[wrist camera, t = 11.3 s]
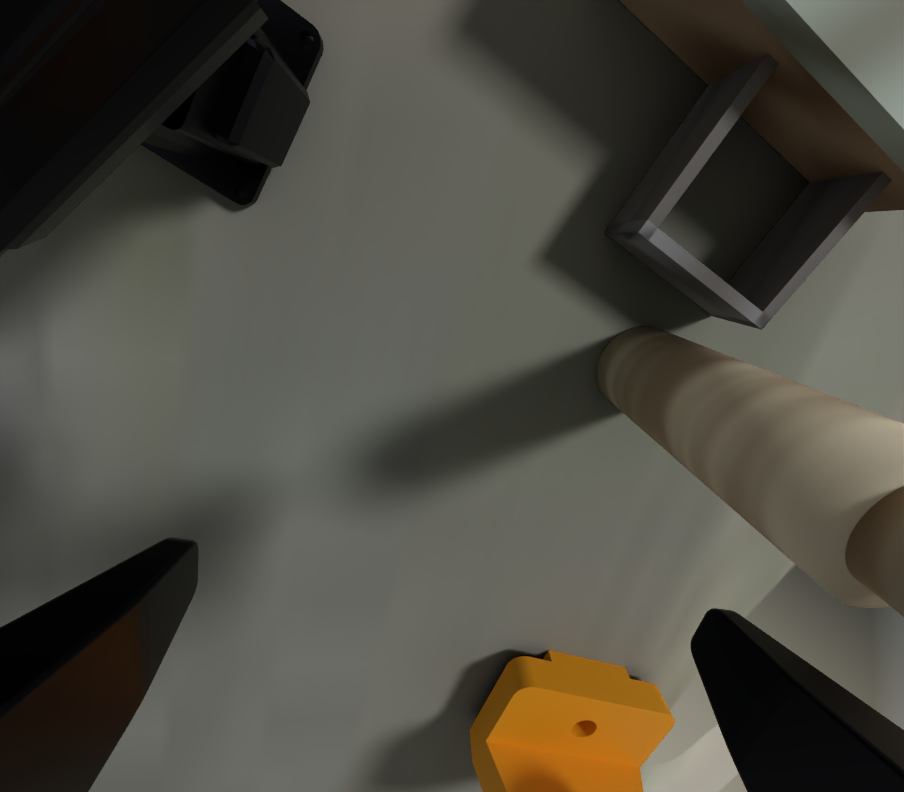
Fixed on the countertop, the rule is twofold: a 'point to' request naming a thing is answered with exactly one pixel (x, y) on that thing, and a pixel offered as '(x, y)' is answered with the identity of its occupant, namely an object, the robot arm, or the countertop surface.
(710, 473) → the wooden pepper mill
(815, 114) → the green slab with socket
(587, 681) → the bracket
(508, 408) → the countertop surface
